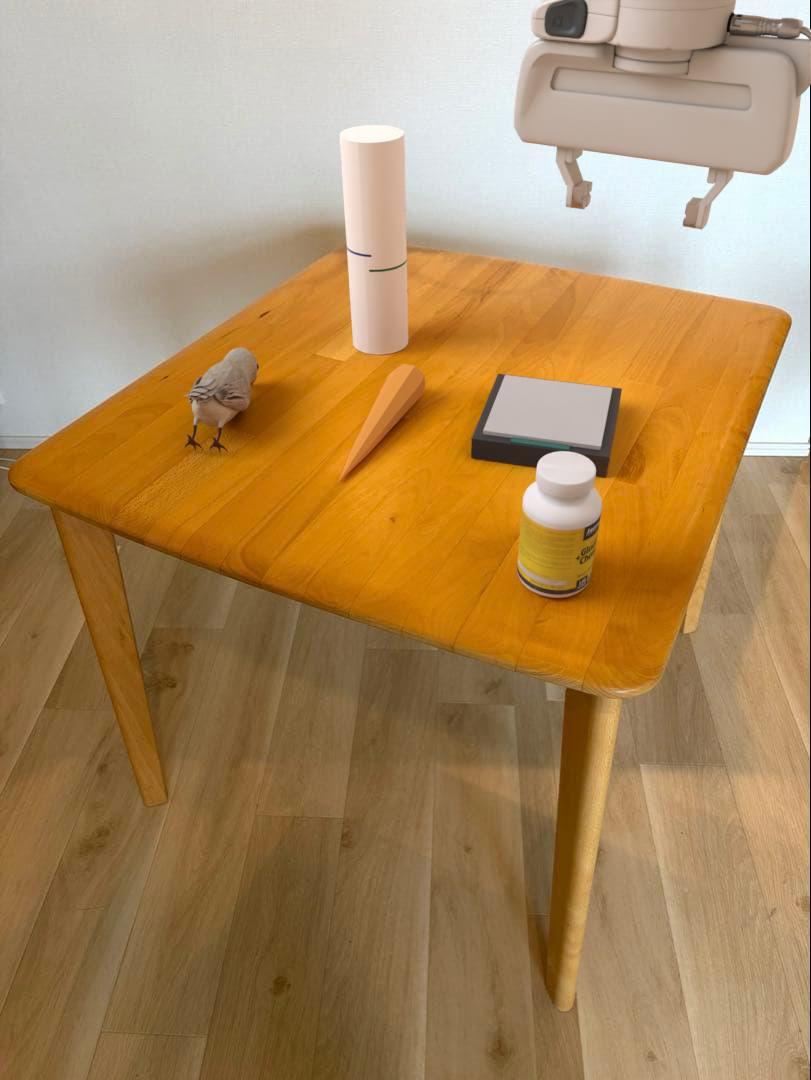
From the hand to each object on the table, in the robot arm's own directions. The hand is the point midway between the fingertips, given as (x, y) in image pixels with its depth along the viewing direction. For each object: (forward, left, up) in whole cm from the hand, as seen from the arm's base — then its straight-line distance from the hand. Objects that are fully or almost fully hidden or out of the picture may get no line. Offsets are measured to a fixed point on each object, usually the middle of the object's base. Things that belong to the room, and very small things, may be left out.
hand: (634, 216), depth 67 cm
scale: (+6, -10, -27) cm, 30 cm away
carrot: (+24, -5, -27) cm, 37 cm away
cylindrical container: (+30, -26, -27) cm, 48 cm away
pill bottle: (+2, +13, -27) cm, 30 cm away
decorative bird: (+41, -4, -27) cm, 49 cm away
